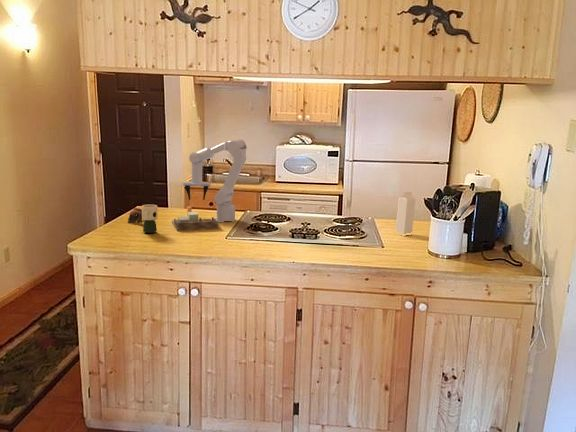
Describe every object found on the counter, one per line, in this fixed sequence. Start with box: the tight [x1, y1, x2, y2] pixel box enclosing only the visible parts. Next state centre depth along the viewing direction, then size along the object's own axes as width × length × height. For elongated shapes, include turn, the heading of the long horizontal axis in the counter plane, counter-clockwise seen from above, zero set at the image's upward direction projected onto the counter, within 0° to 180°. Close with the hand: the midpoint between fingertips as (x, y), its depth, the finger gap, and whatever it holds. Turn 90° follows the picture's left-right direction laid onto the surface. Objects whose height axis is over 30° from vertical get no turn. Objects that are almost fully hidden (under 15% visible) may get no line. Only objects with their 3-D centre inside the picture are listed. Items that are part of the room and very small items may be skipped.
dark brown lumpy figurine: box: [127, 207, 143, 225], centre depth 257 cm, size 12×10×8 cm
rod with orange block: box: [186, 206, 199, 222], centre depth 263 cm, size 5×14×5 cm, turn 21°
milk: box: [395, 191, 416, 234], centre depth 253 cm, size 6×6×22 cm
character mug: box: [141, 204, 158, 234], centre depth 237 cm, size 11×7×13 cm, turn 0°
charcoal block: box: [177, 216, 189, 223], centre depth 249 cm, size 5×6×4 cm
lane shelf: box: [171, 216, 220, 232], centre depth 255 cm, size 20×18×4 cm
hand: (196, 199), depth 273 cm, fingers open, 7 cm apart
